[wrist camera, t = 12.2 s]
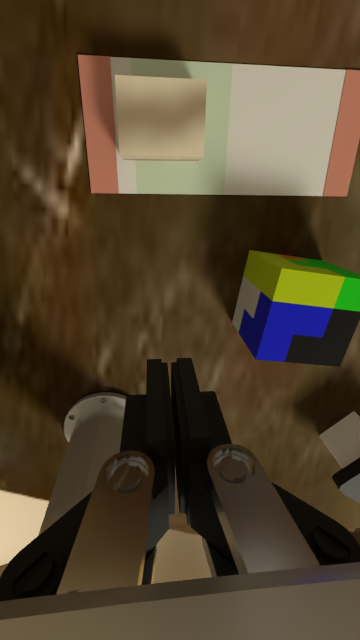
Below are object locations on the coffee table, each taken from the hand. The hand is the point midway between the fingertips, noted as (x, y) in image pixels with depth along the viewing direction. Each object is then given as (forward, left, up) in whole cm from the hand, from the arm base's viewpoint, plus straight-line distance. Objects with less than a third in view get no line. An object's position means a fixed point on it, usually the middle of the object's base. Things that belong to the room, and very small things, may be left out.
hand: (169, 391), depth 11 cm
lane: (+13, -8, -27) cm, 31 cm away
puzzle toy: (-5, -16, -27) cm, 32 cm away
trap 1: (+13, -21, -27) cm, 37 cm away
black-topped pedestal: (-32, -33, -28) cm, 54 cm away
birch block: (+13, -1, -27) cm, 30 cm away
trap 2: (+13, +6, -27) cm, 31 cm away
